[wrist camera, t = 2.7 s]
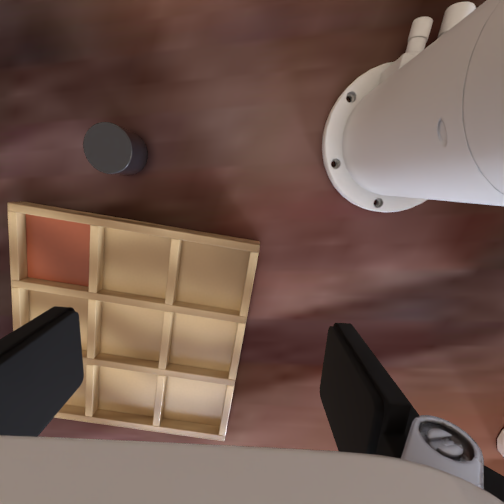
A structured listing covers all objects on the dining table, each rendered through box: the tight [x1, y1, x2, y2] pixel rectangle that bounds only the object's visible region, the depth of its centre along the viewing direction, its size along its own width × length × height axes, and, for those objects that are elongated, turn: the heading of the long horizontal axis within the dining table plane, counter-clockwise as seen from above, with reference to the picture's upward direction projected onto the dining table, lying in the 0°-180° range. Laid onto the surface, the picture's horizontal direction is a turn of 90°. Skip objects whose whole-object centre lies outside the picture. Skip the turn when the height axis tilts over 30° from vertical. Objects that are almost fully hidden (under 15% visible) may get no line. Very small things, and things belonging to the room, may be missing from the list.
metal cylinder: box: [83, 122, 148, 175], centre depth 24 cm, size 4×4×4 cm
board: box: [8, 201, 260, 441], centre depth 29 cm, size 24×24×2 cm
